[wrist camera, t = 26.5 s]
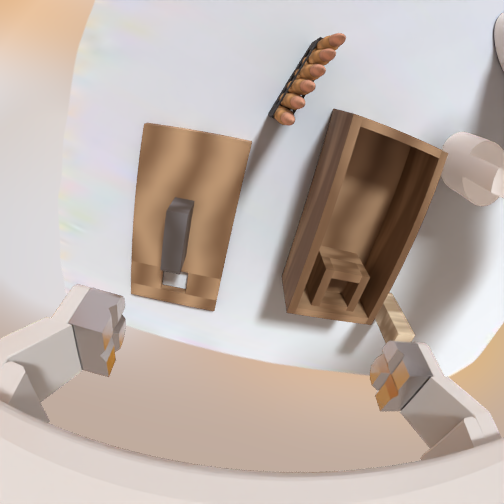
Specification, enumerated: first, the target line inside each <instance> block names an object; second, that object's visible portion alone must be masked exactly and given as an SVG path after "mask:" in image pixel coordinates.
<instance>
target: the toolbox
mask: <svg viewBox="0 0 504 504" xmlns="http://www.w3.org/2000/svg"><path fill="white" fill-rule="evenodd" d="M447 156H448V153H447V152H445V151H443V150H441V149H438V148H436V147H434V146H432V145H430V144H428V143H426V142H423V141H421V140H419V139H417V138H414V137H412V136H410V135H407V134H405V133H403V132H400V131H398V130H396V129H393V128H391V127H388V126H386V125H383V124H380V123H378V122H375V121H372V120H370V119H367V118H364V117H362V116H359V115H356V114H353V113H349V112H345V111H341V110H337V109H333V112H332V115H331V119H330V122H329V126H328V129H327V133H326V136H325V140H324V143H323V147H322V150H321V153H320V157H319V160H318V164H317V167H316V170H315V174H314V177H313V180H312V183H311V187H310V190H309V193H308V196H307V200H306V203H305V206H304V209H303V213H302V216H301V219H300V222H299V225H298V228H297V231H296V235H295V238H294V241H293V244H292V247H291V250H290V253H289V256H288V259H287V262H286V265H285V268H284V271H283V274H282V282H283V289H284V296H285V303H286V311H287V313H292V314H298V315H305V316H311V317H318V318H324V319H331V320H338V321H346V322H353V323H360V324H368V325H371V324H372V323H373V321H374V319H375V317H376V316H377V314H378V312H379V310H380V308H381V307H382V305H383V303H384V301H385V299H386V297H387V295H388V293H389V292H390V290H391V288H392V286H393V284H394V282H395V280H396V278H397V276H398V274H399V272H400V270H401V268H402V266H403V264H404V262H405V259H406V257H407V255H408V253H409V251H410V249H411V247H412V244H413V242H414V240H415V238H416V236H417V233H418V231H419V229H420V226H421V224H422V222H423V219H424V217H425V215H426V212H427V210H428V207H429V205H430V202H431V200H432V197H433V195H434V192H435V190H436V187H437V184H438V182H439V179H440V176H441V173H442V171H443V168H444V165H445V162H446V159H447Z"/></svg>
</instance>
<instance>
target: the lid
mask: <svg viewBox="0 0 504 504" xmlns="http://www.w3.org/2000/svg"><path fill="white" fill-rule="evenodd" d="M251 144H252V141H248V140H244V139H239V138H234V137H229V136H224V135H219V134H214V133H208V132H203V131H197V130H191V129H185V128H179V127H173V126H166V125H159V124H152V123H145V124H144V128H143V135H142V142H141V150H140V157H139V166H138V175H137V185H136V195H135V207H134V221H133V239H132V264H131V294H135V295H140V296H144V297H148V298H153V299H157V300H162V301H167V302H171V303H176V304H181V305H186V306H190V307H195V308H200V309H206V310H211V311H214V310H215V305H216V300H217V296H218V291H219V286H220V281H221V277H222V272H223V267H224V263H225V258H226V253H227V249H228V244H229V240H230V235H231V231H232V226H233V222H234V217H235V213H236V209H237V204H238V200H239V195H240V191H241V187H242V182H243V178H244V174H245V170H246V165H247V161H248V157H249V153H250V148H251ZM163 271H167V272H172V273H176V274H180V272H181V271H182V272H187V273H188V280H187V287H186V289H182V288H177V287H172V286H168V285H163V284H162V282H163Z"/></svg>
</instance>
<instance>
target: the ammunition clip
mask: <svg viewBox="0 0 504 504" xmlns="http://www.w3.org/2000/svg"><path fill="white" fill-rule="evenodd" d="M345 39H346V36H345V35H344V34H341V33H337V34H334V35H331V36H326V37H325V38H321V37H320V38H318V39H317V40H315V41H314V42H312V43H311V45H310V46H309V48H308V50H307V51H306V53H305V54H304V56H303V58H302V59H301V61H300V62H299V64H298V66H297V67H296V69H295V70H294V72H293V74H292V75H291V77H290V79H289V80H288V82H287V83H286V85H285V87H284V88H283V90H282V92H281V93H280V95H279V97H278V98H277V100H276V102H275V103H274V105H273V107H272V108H271V110H270V112H269V114H268V115H269V116H271V117H272V118H274V119H276V120H277V121H278V122H279V123H281V124H283V125H292V124H294V122H295V117H294V113H295V111H296V110H297V109H300V108H303V107H304V106H305V100H304V99H303V98H304V97H305V95H306V94H308V93H310V92H312V91H313V90H314V89H315V83H314V80H316V79H318V78H319V77H320V76H322V75H323V74H324V73H325V71H326V69H325V67H324V65H326V64H328V63H329V61H331V60H332V59H334V57H335V56H336V52H335V50H336V49H338V47H339V46H340V45H342V44H343V43H344V42H345ZM300 95H302V97H301V96H300ZM291 109H293V111H291Z"/></svg>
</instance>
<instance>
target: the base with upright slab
mask: <svg viewBox="0 0 504 504" xmlns="http://www.w3.org/2000/svg"><path fill="white" fill-rule="evenodd" d="M442 150H443V151H445V152H447V153H448V156H447V159H446V162H445V165H444V168H443V171H442V173H441V177H442V179H443V181H444V183H445V184H446V185H447V186H448V187H449V188H450V189H452V190H454V191H455V192H457V193H458V194H460V195H461V196H463V197H464V198H466V199H467V200H469V201H470V202H472V203H473V204H475V205H477V206H487V205H490V204H491V203H493V202H495V201H496V200H497V199H498V198H499V196H500V197H502V198H504V151H503V149H502V148H501V146H499V145H498V144H497V143H496V142H493V141H490V140H488V139H485V138H482V137H479V136H476V135H473V134H470V133H467V132H458V133H455V134H453V135H452V136H451V137H449V138H448V139H447V141H446V142H445V144H444V145H443V147H442Z"/></svg>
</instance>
